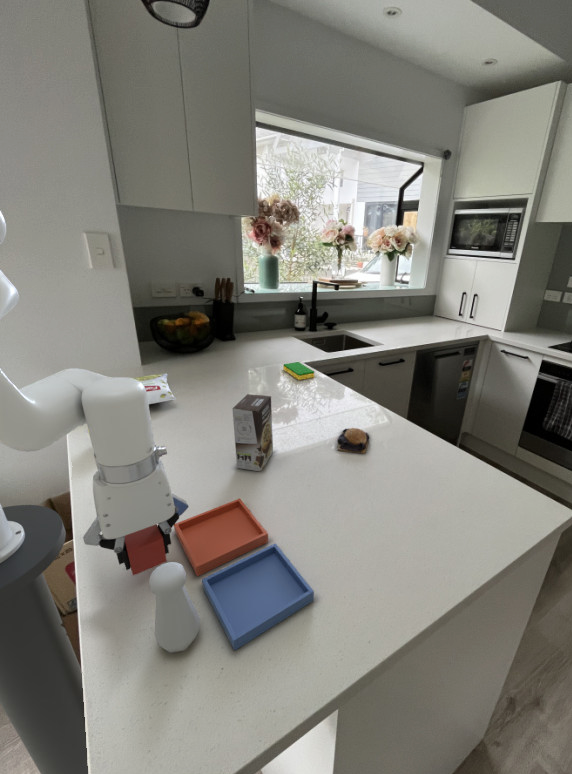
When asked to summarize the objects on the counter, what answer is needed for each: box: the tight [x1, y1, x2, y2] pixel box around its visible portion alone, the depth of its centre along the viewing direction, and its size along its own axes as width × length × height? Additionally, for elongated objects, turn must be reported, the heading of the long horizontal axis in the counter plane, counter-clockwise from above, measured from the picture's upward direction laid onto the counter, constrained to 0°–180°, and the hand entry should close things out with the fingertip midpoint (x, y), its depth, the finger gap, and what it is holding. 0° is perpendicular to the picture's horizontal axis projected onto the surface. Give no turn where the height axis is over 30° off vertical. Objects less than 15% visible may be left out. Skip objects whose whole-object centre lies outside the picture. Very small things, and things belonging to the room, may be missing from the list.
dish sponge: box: [282, 361, 315, 381], centre depth 152 cm, size 7×14×2 cm, turn 33°
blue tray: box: [201, 543, 315, 651], centre depth 59 cm, size 13×12×2 cm
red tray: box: [173, 497, 269, 577], centre depth 70 cm, size 13×12×2 cm
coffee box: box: [231, 393, 274, 472], centre depth 91 cm, size 9×6×16 cm
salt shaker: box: [148, 561, 201, 654], centre depth 50 cm, size 6×6×13 cm
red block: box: [124, 524, 168, 576], centre depth 61 cm, size 5×5×5 cm
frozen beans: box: [131, 373, 177, 405], centre depth 123 cm, size 21×6×25 cm
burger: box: [337, 427, 370, 455], centre depth 103 cm, size 11×8×4 cm
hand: (145, 555), depth 62 cm, fingers closed on red block, 5 cm apart
